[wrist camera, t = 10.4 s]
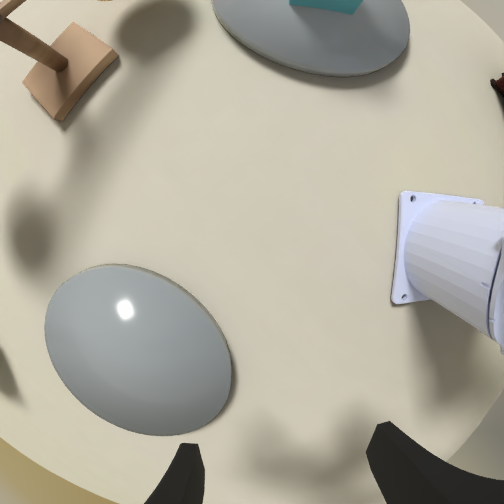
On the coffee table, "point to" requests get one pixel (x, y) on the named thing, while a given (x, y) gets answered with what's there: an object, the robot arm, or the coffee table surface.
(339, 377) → the coffee table surface
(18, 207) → the coffee table surface
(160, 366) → the grey round disc
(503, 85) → the mate gourd
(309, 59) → the dish low side
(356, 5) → the block
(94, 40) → the balance
